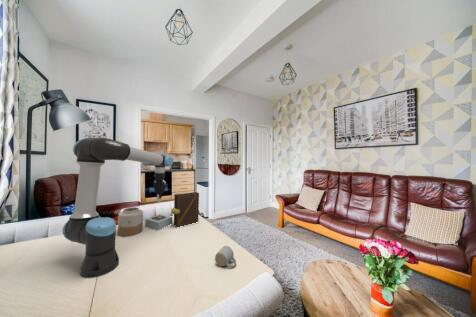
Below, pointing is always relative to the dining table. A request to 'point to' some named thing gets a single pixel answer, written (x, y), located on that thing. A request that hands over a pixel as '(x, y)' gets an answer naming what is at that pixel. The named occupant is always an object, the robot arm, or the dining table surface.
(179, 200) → the book
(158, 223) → the socket block
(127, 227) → the vase
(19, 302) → the dining table surface
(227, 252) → the ceramic mug
